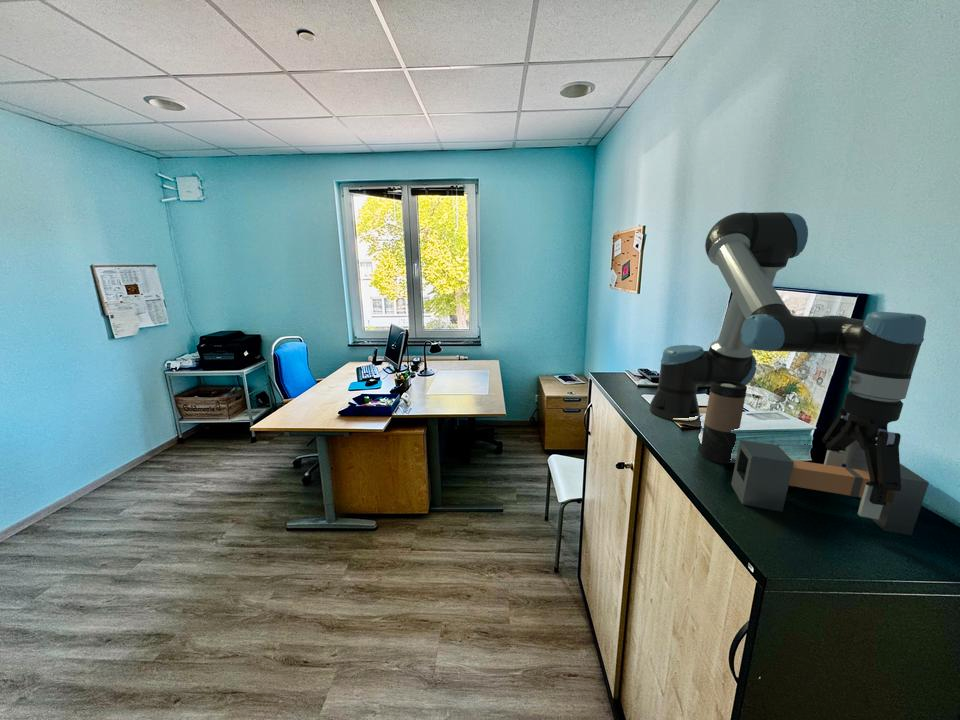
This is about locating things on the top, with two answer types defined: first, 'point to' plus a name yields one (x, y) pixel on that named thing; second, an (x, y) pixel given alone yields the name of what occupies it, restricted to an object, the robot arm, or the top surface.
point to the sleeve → (761, 475)
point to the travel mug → (722, 420)
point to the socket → (903, 504)
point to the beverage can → (855, 457)
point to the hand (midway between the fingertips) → (846, 496)
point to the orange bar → (829, 478)
